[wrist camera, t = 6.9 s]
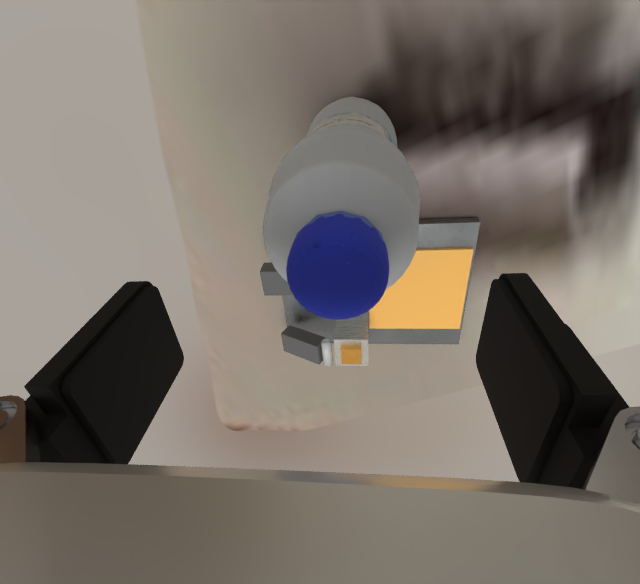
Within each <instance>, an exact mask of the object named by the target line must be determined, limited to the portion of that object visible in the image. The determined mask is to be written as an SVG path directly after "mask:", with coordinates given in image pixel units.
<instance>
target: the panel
mask: <svg viewBox="0 0 640 584" xmlns="http://www.w3.org/2000/svg"><path fill="white" fill-rule="evenodd" d="M479 227H480V221H479V219H478V218H477V217H469V218H439V219H419V234H418V243H417V248H416V249H438V248H473V249H474V250H473V255H472V261H471V267H470V273H469V278H468V284H467V290H466V295H465V301H464V307H463V312H462V318H461V324H460V329H369V311H367V312H366V313H364V314H361V315H359V316H357V317H353V318H349V319H342V320H335V319H327V318H323V317H320V316H318V315H315V314H313V313H312V312H310V311H308V310H306V309H305V308H304V307H303V306H302V305H300V304H299V302H298V301H297V300H296V299H295V298H294V295H282V297H283V303H284V309H285V315H286V321H287V326H289V325H291V326H294V327H297V328H300V329H302V330H305V331H308V332H311V333H314V334H317V335H320V336H323V337H325V338H326V339H330V340H331V343H334V349H335V362H336V365H341V366H368V344H459V339H460V333H461V328H462V322H463V317H464V311H465V305H466V300H467V294H468V289H469V283H470V277H471V272H472V266H473V261H474V255H475V250H476V244H477V238H478V233H479Z"/></svg>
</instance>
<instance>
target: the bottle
mask: <svg viewBox="0 0 640 584" xmlns="http://www.w3.org/2000/svg"><path fill="white" fill-rule="evenodd" d="M419 213H420V193H419V187H418V183H417V180H416V177H415V175H414V173H413V170H412V168H411V167H410V165H409V164H408V162H407V160H406V158H405V157H404V155H403V154H402V152H401V151H400V150H399V149H398V148H397V138H396V134H395V130H394V127H393V125H392V122H391V120H390V119H389V117H388V116H387V114H386V113H385V112H384V111H383V109H382V108H381V107H380V106H378V105H377V104H375V103H373V102H371V101H369V100H366V99H362V98H357V97H345V98H341V99H339V100H337V101H334V102H332V103H330V104H329V105H327V106H326V107H324V108H323V109H322V110H321V111H320V112H319V113H318V114H317V115H316V117H315V118H314V119H313V121H312V123H311V125H310V127H309V129H308V132H307V135H306V138H304V139H303V140H301V141H300V142H299V143H298V144H297V145H296V146H294V148H293V149H292V150H291V151H290V152H289V153H288V154H287V155H286V156H285V157H284V159H283V160H282V161H281V163H280V164H279V166H278V168H277V170H276V172H275V174H274V176H273V179H272V182H271V186H270V190H269V199H268V203H267V207H266V212H265V216H264V223H263V236H264V244H265V247H266V250H267V254H268V256H269V258H270V260H271V262H272V264H273V266H274V268H275V269H276V270H277V271H278V273H279V274H280V275H281V276H282V278H283V279H284V280H286V281H287V282H288V284H289V287H290V291H291V292H292V293H293V295H294V298H295V299H296V300H297V301H298V302H299V304H300V305H302V306H303V307H304V308H305V309H306V310H308V311H310V312H312V313H313V314H315V315H318V316H320V317H323V318H327V319H335V320H342V319H349V318H353V317H357V316H359V315H361V314H364V313H366V312H367V311H369V310H370V309H371V308H373V307H374V306H375V305H376V304H377V303H378V302H379V301H380V299H381V298H382V296H383V294H384V292H385V290H386V289H388V288H389V287H391V286H392V285H393V284H394V283H395V282H396V281H397V280H399V279H400V278H401V277H402V276H403V274H404V273H405V271H406V270H407V268H408V267H409V265H410V263H411V261H412V259H413V257H414V254H415V252H416V248H417V243H418V234H419Z"/></svg>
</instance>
